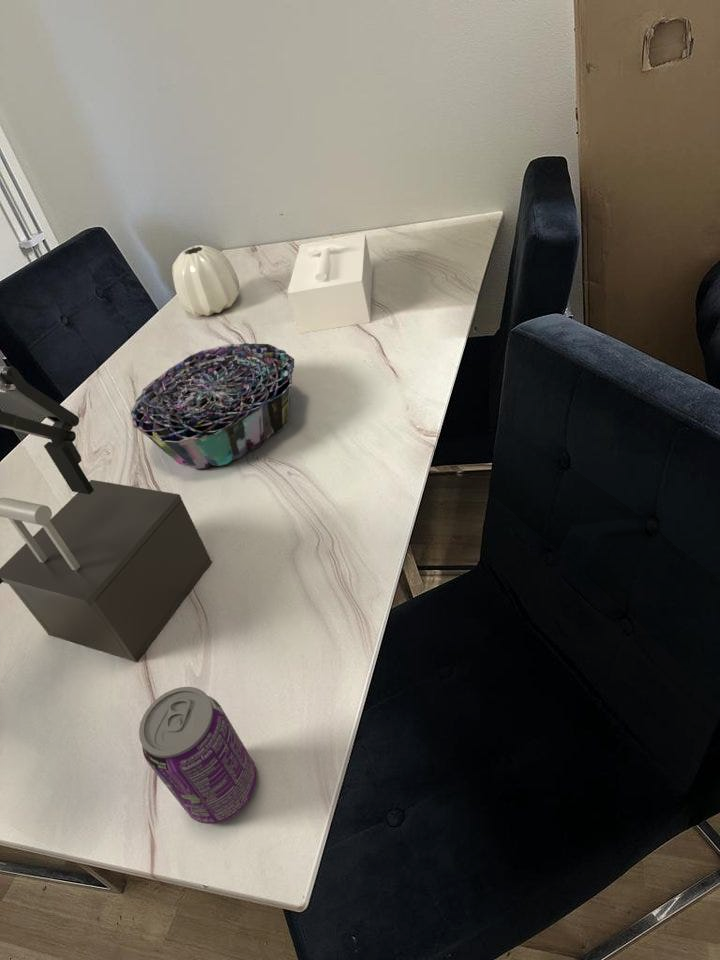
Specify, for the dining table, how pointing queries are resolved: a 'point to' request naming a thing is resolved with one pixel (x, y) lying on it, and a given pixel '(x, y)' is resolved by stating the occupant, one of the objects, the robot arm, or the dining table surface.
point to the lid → (82, 539)
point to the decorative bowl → (217, 403)
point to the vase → (204, 280)
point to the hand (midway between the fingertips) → (40, 533)
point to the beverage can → (198, 754)
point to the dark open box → (131, 593)
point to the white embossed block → (331, 284)
